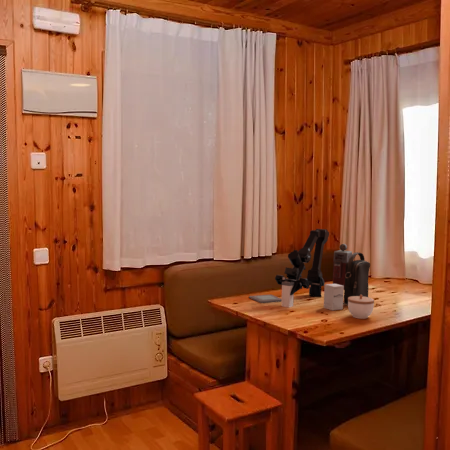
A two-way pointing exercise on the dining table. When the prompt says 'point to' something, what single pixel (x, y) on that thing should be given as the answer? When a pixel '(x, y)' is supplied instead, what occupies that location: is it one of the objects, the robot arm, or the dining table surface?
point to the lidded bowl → (360, 306)
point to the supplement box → (333, 296)
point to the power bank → (287, 294)
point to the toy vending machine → (340, 264)
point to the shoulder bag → (356, 277)
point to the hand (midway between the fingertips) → (286, 294)
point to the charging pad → (266, 298)
